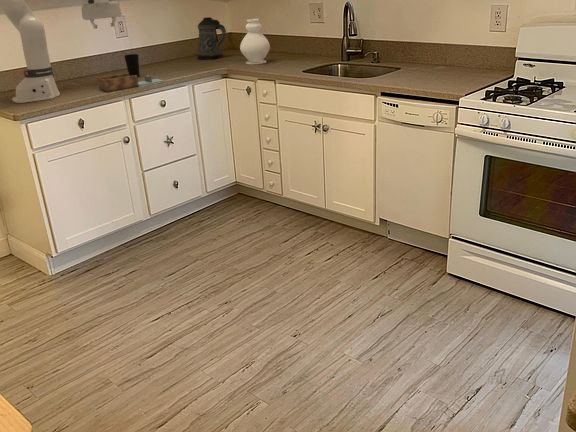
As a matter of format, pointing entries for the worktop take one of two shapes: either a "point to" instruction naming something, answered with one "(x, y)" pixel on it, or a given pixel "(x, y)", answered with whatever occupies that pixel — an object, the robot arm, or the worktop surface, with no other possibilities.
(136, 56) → the cup
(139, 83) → the cover plate
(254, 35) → the decorative vase
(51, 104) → the worktop surface
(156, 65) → the worktop surface
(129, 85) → the walnut box
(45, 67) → the robot arm
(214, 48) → the beer stein
